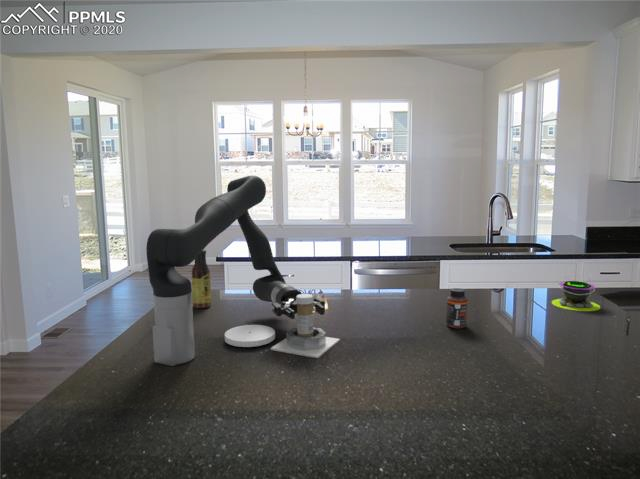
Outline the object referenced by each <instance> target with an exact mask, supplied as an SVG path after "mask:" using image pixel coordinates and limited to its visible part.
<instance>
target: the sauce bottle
mask: <svg viewBox="0 0 640 479" xmlns="http://www.w3.org/2000/svg"><path fill="white" fill-rule="evenodd" d="M206 254H207V250H206V249H203V251H202V252H201V253H200V254H199V255H198V256H197V257H196V259H195V260H194V264H193V266H192V269H191V288H192V307H193V308H195V309H205V308H209V307H211V304H212V289H211V271H210V268H209V267H208V264H207V258H206V257H207V256H206Z"/></svg>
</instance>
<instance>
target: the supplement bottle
mask: <svg viewBox="0 0 640 479" xmlns="http://www.w3.org/2000/svg"><path fill="white" fill-rule="evenodd" d="M465 290H466V289H463V288H451V289H450V294H449V295H448V296H447V297H446V298H447V300H446V317H445V318H446V323H445V324H446V326H447V327H448V328H452V329H456V330H457V329H459V330H460V329H464V328H466V327H467V322H468V321H467V320H468V297H467V296H466V295H465V292H466V291H465Z"/></svg>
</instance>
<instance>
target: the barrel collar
mask: <svg viewBox="0 0 640 479" xmlns="http://www.w3.org/2000/svg"><path fill="white" fill-rule="evenodd" d="M326 334H327V333H326V331H324V330H323V329H322V328H321V327H314V326H313V337H306V338H304V337H298V332H297V327H293V328H292V329H290V330H288V331H287V332H286V338H287V344H288V345H289V347H290V348H292V349H298V350H303V351H306V350H313V349H319V348H321V347H322V346H323V345H324V344H326V337H327V336H326Z"/></svg>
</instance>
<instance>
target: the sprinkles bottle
mask: <svg viewBox="0 0 640 479" xmlns="http://www.w3.org/2000/svg"><path fill="white" fill-rule="evenodd" d="M313 297H314V295H313V294H310V293H302V294H299V295H297V296H296V303H297V313H296V328H297V332H298V337H304V338H306V337H313V327H314V311H313Z"/></svg>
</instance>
